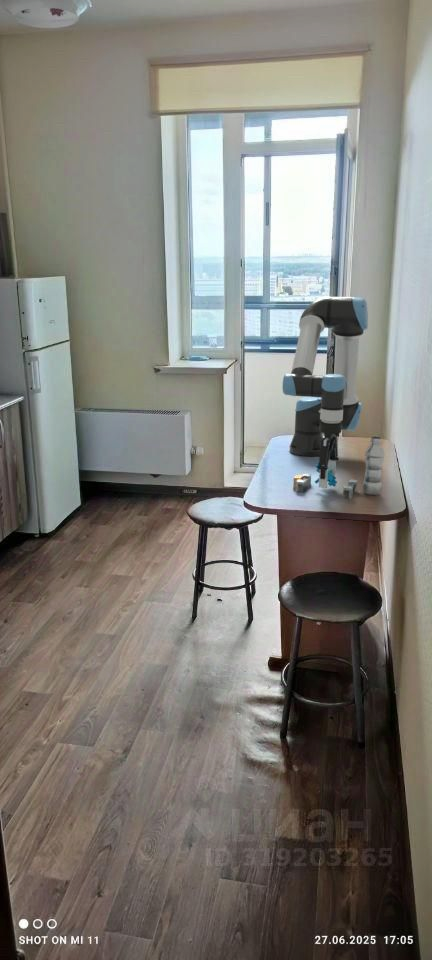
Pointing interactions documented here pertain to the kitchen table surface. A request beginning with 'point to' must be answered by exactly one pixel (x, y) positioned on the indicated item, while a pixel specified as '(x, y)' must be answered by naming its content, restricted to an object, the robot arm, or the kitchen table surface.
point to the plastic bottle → (373, 467)
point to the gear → (330, 476)
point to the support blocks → (304, 482)
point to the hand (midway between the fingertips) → (326, 482)
